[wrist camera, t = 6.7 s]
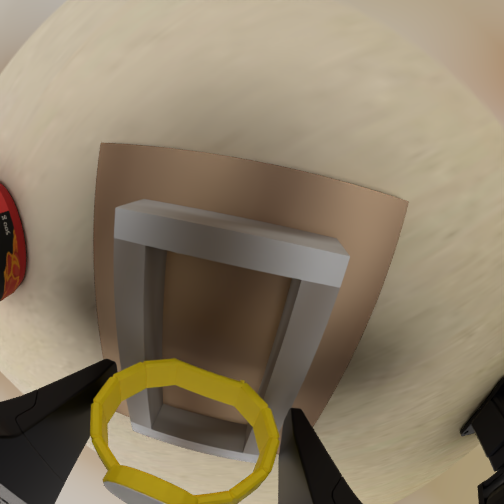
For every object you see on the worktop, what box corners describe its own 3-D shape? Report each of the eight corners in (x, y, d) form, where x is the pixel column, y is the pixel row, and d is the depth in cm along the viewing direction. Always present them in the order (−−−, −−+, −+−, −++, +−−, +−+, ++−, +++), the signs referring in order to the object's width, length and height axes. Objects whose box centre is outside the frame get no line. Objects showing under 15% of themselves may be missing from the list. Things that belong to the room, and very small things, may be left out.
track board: (400, 198, 9) (435, 211, 7) (293, 446, 14) (293, 480, 12) (111, 143, 10) (69, 141, 7) (119, 403, 15) (102, 431, 12)
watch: (289, 373, 9) (281, 526, 4) (269, 415, 10) (253, 540, 5) (135, 328, 10) (44, 442, 4) (136, 376, 10) (72, 478, 5)
